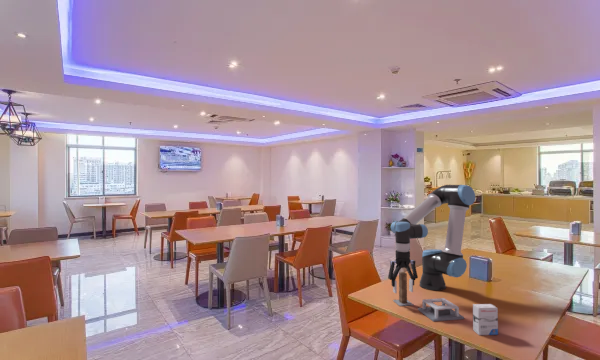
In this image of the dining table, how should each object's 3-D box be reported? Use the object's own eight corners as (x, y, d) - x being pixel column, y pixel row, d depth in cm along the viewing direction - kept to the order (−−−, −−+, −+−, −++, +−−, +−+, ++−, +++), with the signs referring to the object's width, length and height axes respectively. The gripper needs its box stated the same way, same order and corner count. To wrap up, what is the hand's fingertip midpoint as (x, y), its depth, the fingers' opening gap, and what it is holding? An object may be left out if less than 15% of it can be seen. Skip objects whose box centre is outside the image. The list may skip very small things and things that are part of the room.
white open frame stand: (446, 307, 168) (446, 297, 168) (463, 319, 154) (463, 307, 154) (417, 309, 165) (417, 299, 165) (433, 321, 151) (433, 309, 151)
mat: (406, 299, 179) (406, 299, 179) (413, 305, 171) (413, 304, 171) (392, 300, 178) (392, 300, 178) (399, 306, 170) (399, 305, 170)
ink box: (491, 329, 143) (491, 303, 143) (498, 335, 138) (498, 307, 138) (472, 330, 142) (472, 303, 142) (479, 335, 137) (478, 308, 138)
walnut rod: (404, 301, 176) (404, 271, 176) (407, 303, 173) (406, 273, 173) (399, 301, 176) (398, 272, 176) (401, 303, 173) (401, 273, 173)
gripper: (417, 248, 180) (417, 288, 180) (381, 249, 177) (381, 290, 177) (424, 251, 173) (425, 293, 173) (387, 252, 169) (387, 295, 169)
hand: (403, 291), depth 175 cm, fingers open, 9 cm apart
